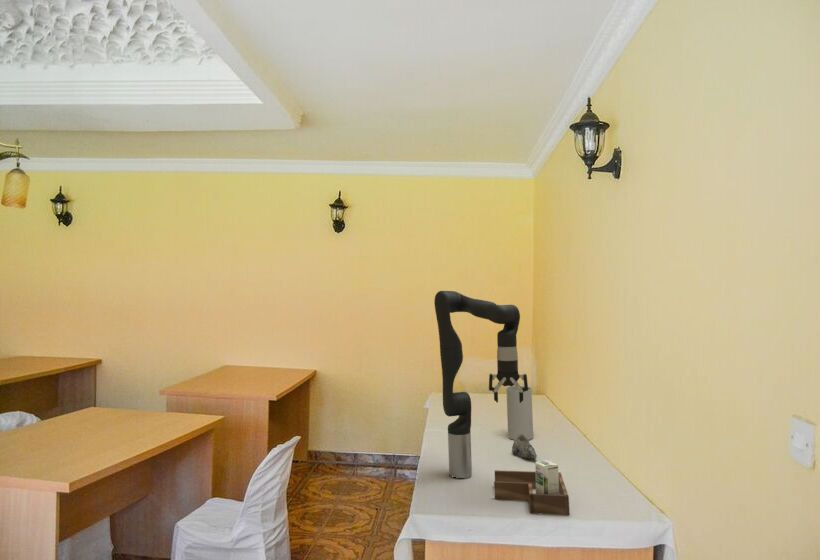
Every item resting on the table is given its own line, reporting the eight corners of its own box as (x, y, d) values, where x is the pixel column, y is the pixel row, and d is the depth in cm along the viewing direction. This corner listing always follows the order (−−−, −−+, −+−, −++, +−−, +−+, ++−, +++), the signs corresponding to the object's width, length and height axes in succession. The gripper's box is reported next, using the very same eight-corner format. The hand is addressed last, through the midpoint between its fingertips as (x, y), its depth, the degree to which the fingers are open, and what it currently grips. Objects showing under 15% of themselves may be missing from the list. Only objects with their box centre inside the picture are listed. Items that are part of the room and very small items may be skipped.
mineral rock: (537, 462, 215) (536, 439, 215) (511, 461, 217) (511, 438, 217) (536, 453, 227) (535, 431, 228) (512, 452, 229) (511, 430, 230)
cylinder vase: (523, 442, 244) (521, 391, 245) (503, 438, 253) (501, 388, 254) (538, 437, 252) (536, 387, 253) (518, 433, 262) (516, 385, 262)
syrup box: (535, 504, 172) (534, 461, 172) (549, 501, 174) (547, 459, 175) (546, 510, 167) (544, 466, 167) (560, 507, 169) (558, 464, 169)
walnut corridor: (495, 486, 189) (494, 470, 189) (561, 488, 185) (560, 472, 185) (494, 511, 167) (493, 493, 167) (569, 514, 163) (568, 496, 163)
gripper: (526, 357, 188) (527, 400, 188) (488, 357, 190) (489, 399, 190) (527, 359, 180) (528, 404, 180) (487, 359, 183) (489, 404, 183)
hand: (508, 402), depth 185 cm, fingers open, 8 cm apart
